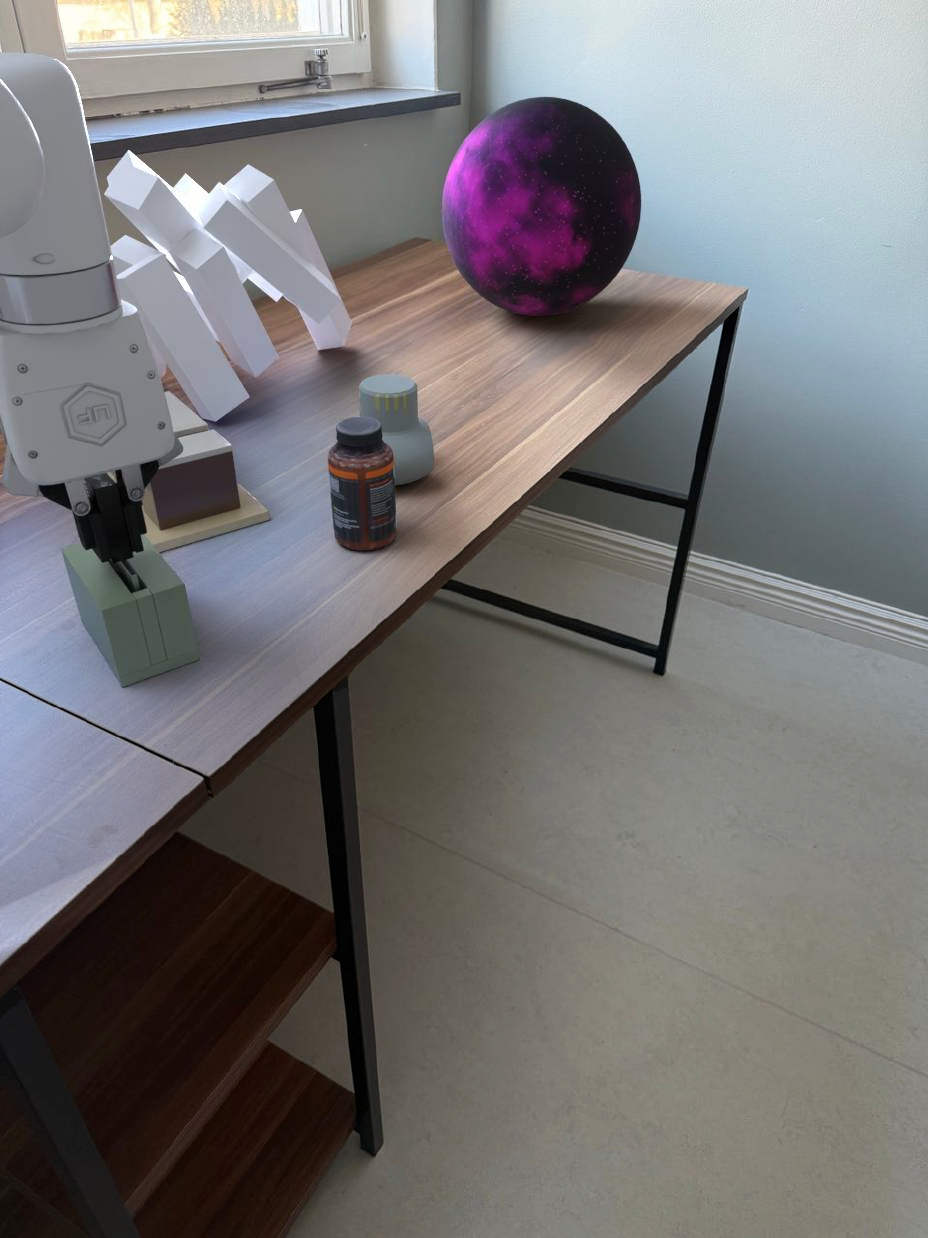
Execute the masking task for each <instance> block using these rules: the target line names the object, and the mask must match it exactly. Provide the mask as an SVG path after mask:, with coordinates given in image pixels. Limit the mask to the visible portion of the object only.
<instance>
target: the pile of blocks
mask: <svg viewBox="0 0 928 1238" xmlns="http://www.w3.org/2000/svg"><path fill="white" fill-rule="evenodd" d="M106 180H107V184H108V187H107V188H106V190H105V192H104V193H103V195H104V196H105V198H107V199H108V200H109V201H110V202H111V203H112V205H114V206H115V208H117V209H118V210H119V211H120V213H121V214H122V215H123V216H125V218H126V219H127V220H128V221H130V223H131V224H132V225H133V226H135V228H136V229H137V230H138V231H139V232H140V233H141V234H142V235H143V236H144V237H145V238H146V239H147V240H148V241H149V242H150V243H151V244H152V245H153V246H154V247H152V246H149V245H147V244H146V243H143V242H142V241H139V240H137V239H135V238H133V237H131V236H129V235H127V234H125V235H123V236H122V237H120V238H118V240H116V241H115V242H114V243H112V244H110V247H111V252H112V257H113V261H114V266H115V271H116V276H117V281H118V286H119V291H120V296H121V300H122V301H125V302H127V303H129V304H130V305H133V306H134V307H136V309H137V311H138V313H139V315H140V318H141V320H142V323H143V325H144V328H145V331H146V333H147V336H148V339H149V342H150V345H151V348H152V351H153V354H154V357H155V361H156V364H157V368H158V371H159V375H160V378H161V379H163V377H165V375H166V374H167V367H168V368H169V370H170V372H171V373H172V374H173V376H174V378H175V379H176V381H177V382H178V384H179V386H180V388H182V390H183V391H184V393H185V394H186V396H187V397H188V400H189V401H190V403H191V404H192V405H193V407H194V408H195V410H196V411H197V413H198V415H199V417H200V418H201V419H203V420H208V421H212V422H215V423H216V422H217V421H218V420H220V419H222V417H224V416H225V415H227V414H228V413H230V412H231V411H232V410H234V409H235V408H237V407H238V406H239V405H241V404H242V403H244V402H245V401H246V400H248V399H249V398H250V395H249V393H248V391H247V390H246V388H245V386H244V385H243V383H242V382H241V380H240V378H239V376H238V375H237V374H236V372H235V370H234V368H233V366H232V365H231V363H230V362H229V360H230V361H231V362H232V363H234V364H235V365H237V366H238V367H240V368H241V369H243V370H244V371H245V372H246V373H249V374H250V375H251V376H252V377H254V378H258V377H259V376H260V375H261V374H262V373H264V371H265V370H267V369H268V368H269V367H270V366H271V365H272V364H274V363H275V362H276V361H277V360H278V359H279V358H280V356H279V355H278V353H277V351H276V348H275V347H274V344H273V343H272V340H271V338H270V336H269V334H268V332H267V330H266V328H265V326H264V324H263V322H262V320H261V318H260V316H259V314H258V312H257V310H256V308H255V306H254V304H253V302H252V300H251V298H250V296H249V294H248V292H247V290H246V288H245V286H244V284H245V282H246V281H247V280H249V281H251V282H252V283H253V284H254V285H255V286H257V287H258V288H259V289H260V290H261V291H262V292H263V293H265V294H266V295H267V296H268V297H270V298H271V299H272V300H273V301H275V302H276V303H278V302H279V300H280V299H282V298H284V299H285V300H286V301H288V302H290V303H291V304H292V305H294V306H295V307H296V308H297V310H298V312H299V314H300V316H301V318H302V320H303V322H304V324H305V327H306V328H307V330H308V332H309V334H310V337H311V338H312V340H313V343H314V344H315V346H316V349H317V351H321V350H328V349H334V348H341V347H345V344H346V342H347V339H348V337H349V334H350V331H351V329H352V326H353V322H352V319H351V317H350V315H349V312H348V310H347V308H346V306H345V304H344V301H343V299H342V296H341V295H340V293H339V290H338V288H337V285H336V283H335V281H334V278H333V276H332V274H331V271H330V270H329V267H328V265H327V263H326V260H325V258H324V255H323V254H322V251H321V250H320V247H319V245H318V241H317V240H316V237H315V235H314V233H313V231H312V229H311V227H310V224H309V222H308V220H307V217H306V215H305V213H304V211H303V209H296V210H291V211H290V209H289V207H288V205H287V203H286V201H285V199H284V197H283V194H282V193H281V191H280V189H279V187H278V185H277V183H276V181H275V179H274V178H272V177H270V176H268V175H267V174H266V173H264V172H262V171H261V170H259V169H257V168H255V167H253V166H252V165H250V164H247V165H245V166H244V167H243V168H242V169H241V170H239V172H237V173H236V174H235V175H234V176H233V177H231V178H230V179H229V180H228V181H227V182H226V183H224V184H223V183H221V182H220V181H218V183H216V185H215V186H214V187H213V188H212V189H211V191H210V192H209V193H208V191H207V190H205V189H204V188H202V186H200V184H198V183H197V182H196V181H195V180H193V178H191V177H190V176H189V175H188V174H187V173H184V174H183V176H182V177H181V178H180V179H179V181H178V182H177V183H176V184H174V186H171V185H170V184H169V183H168V182H167V181H165V180H164V179H163V178H162V177H160V175H158V174H157V173H156V172H155V171H154V170H152V168H150V167H149V166H148V165H146V163H145V162H143V161H142V160H141V159H140V158H139V157H137V156H136V155H135V154H134V153H133V152H132V151H131V150H129V149H128V150H127V151H126V152H125V154H124V155H123V156H122V157H121V158H120V160H119V161H118V163H117V164H116V165H115V166H114V168H113V169H112V170H111V171H110V172H109V174H108V175H107V176H106ZM168 261H169V262H168ZM171 264H172V266H174V268H175V269H176V270H178V272H179V273H180V274H179V273H177V272H175V271H174V270H173V268H172V266H171ZM219 343H220V344H221V346H222V347H223V349H224V352H225V353H226V354H227V356H228V358H229V360H228V359H227V357H226V355H225V353H224V352H223V350H222V349H221V347H220V345H219Z"/></svg>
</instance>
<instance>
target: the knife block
mask: <svg viewBox="0 0 928 1238" xmlns="http://www.w3.org/2000/svg"><path fill="white" fill-rule="evenodd" d="M141 539H142V543H143V548H144V551H142V552H138V553H136V552H133V555H134V557H133V558H130V559H127V560H126V561H127V562H128V563H129V565H130V566H131V567H132V569H133V570H134V571H135V573H136V574H137V577H138V581H139V586H140V591H137V592H134V593H132V594H131V592H130V591H129V590H128V588H127V587H126V586H125V584H124V583H123V581H122V580H121V579H120V577H119V576H118V574H117V573H116V572H115V570H114V569H113V568H112V566H111V565H110V563H109V562H104V563H102V562H101V561H100V559H99V558H98V556H97V555H96V554H95V552H94V551H93V549H90V550H85V549H84V547H83V546H82V544H81V542H78V543H75V544H70V545H68V546H64V547H61V548H60V551H61V555H62V558H63V562H64V565H65V569H66V572H67V576H68V579H69V583H70V586H71V590H72V593H73V597H74V600H75V604H76V607H77V610H78V613H79V614H78V615H79V617H80V621H81V623H82V625H83V627H84V628H85V630H86V631H87V633H88V634H89V636H90V638H91V639H92V642H93V643H94V644H95V646H96V648H97V649H98V651H99V653H100V655H101V656H102V657H103V659H104V660H105V662H106V664H107V666H108V667H109V669H110V671H111V672H112V674H113V675H114V677H115V678H116V681H117V682H118V683H119V684H120V687H122V688H125V687H128V686H130V685H133V684H136V683H139V682H141V681H144V680H146V679H147V680H148V679H149V678H152V677H156V676H158V675H160V674H164V673H166V672H168V671H171V670H174V669H178V668H180V667H183V666H186V665H189V664H192V663H193V662H196V661H200V653H199V649H198V643H197V638H196V633H195V629H194V623H193V617H192V613H191V608H190V603H189V597H188V592H187V588H186V583H185V582H184V581H183V580H182V579H181V577H180V576H179V575H178V573H176V571H175V570H174V569H173V567H171V565H170V564H169V563H168V561H167V560H166V559H165V557H163V555H162V554H161V552H158V551H157V549H156V548H155V547H154V546H153V545H152V543H151V542H150V541H149V540H148V538H147V537H146V536H145V535H144V534H143V535H141Z"/></svg>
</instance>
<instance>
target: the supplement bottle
mask: <svg viewBox="0 0 928 1238" xmlns="http://www.w3.org/2000/svg"><path fill="white" fill-rule="evenodd" d="M335 434H336V436H335V438H336V442H335V443H334V444H333V445H332V446H331V447H330V449H329V450H328V453H327V469H328V480H329V481H328V483H329V491H330V492H329V493H330V504H331V515H332V529H333V533H334V535H333V536H334V539H335V540H336V541H337V543H338V544H339V545H341V546H343V547H345V548H347V549H350V550H355V551H373V550H378V549H380V548H383V547H385V546H387V545H389V544H391V543H392V542H393V541H394V540H395V538H396V536H397V531H398V530H397V527H398V523H397V500H396V499H397V498H396V485H395V473H394V456H393V451H392V449H391V447H390V446H389V445H388V444H387V443H385V442H384V441H383V440H382V437H383V435H382V426H381V423H380V422H379V421H378V420H376V419H374V418H370V417H360V416H350V417H346V418H344V419H341V420H340V421H339V422H337V424H336V426H335Z"/></svg>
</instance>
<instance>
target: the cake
mask: <svg viewBox="0 0 928 1238" xmlns="http://www.w3.org/2000/svg"><path fill="white" fill-rule="evenodd" d="M164 393H165V396H166V400H167V404H168V408H169V412H170V416H171V420H172V425H173V431H174V433H175V435H176V436H177V438H178V439H179V441H180V442H181V444H182V445H183V452H182V453H181V454H180V455H179V456H177V457H176V458H174V459H173V460H171V461H170V462H168V463H167V464H165V465H164V466H163V465H162V466H160V467H159V469H158V471H157V472H156V474H155V475H154V477H153V478H152V479H151V481H150V482H149V484H148V485H147V487H146V488H145V496H144V498H143V499H142V500H140V501H141V505H142V510H143V514H144V519H145V524H146V528H147V533H146V534H144V535H145V536H146V537H147V538H148V540H149V541H150V542H151V543H152V545H153V546H154V547H155V548H156V549H157V551H158V552H159V553H162V552H165V551H168V550H172V549H176V548H179V547H182V546H185V545H189V544H192V543H196V542H199V541H202V540H206V539H209V538H213V537H216V536H219V535H222V534H226V533H230V532H233V531H237V530H240V529H243V528H247V527H250V526H253V525H257V524H260V523H263V522H266V521H270V520H271V517H270V510H268V509H267V508H266V507H265V506H264V505H263V504H262V503H261V502H260V501H259V500H257V499H256V498H255V496H254V495H252V494H251V493H250V492H249V491H247V490H246V488H245V487H243V486H242V485H241V484H240V483H239V482H238V479H237V472H236V465H235V458H234V452H233V451H234V450H233V449H234V448H233V444H231V443H230V442H229V441H228V440H227V439H226V438H224V437H223V436H222V435H221V434H220V433H219V432H218V431H216V430H215V429H210V430H209V424H208V423H207V422H206V421H204V419H203V418H202V417H201V416H200V415H199V414H197V413H196V412H194V411H193V410H192V409H191V408H190V407H189V406H187V405H186V404H185V403H184V402H182V400H180V399H179V398H178V397H177V396H176V395H175V394H174V393H172V392H171V391H170V390H167V391H164ZM107 473H108V474H109V476H110V477H111V478H112V479H113V480H114V481H115V476H114V471H111V472H107ZM115 483H116V481H115Z"/></svg>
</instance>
